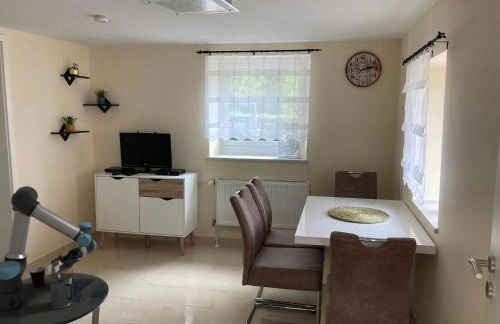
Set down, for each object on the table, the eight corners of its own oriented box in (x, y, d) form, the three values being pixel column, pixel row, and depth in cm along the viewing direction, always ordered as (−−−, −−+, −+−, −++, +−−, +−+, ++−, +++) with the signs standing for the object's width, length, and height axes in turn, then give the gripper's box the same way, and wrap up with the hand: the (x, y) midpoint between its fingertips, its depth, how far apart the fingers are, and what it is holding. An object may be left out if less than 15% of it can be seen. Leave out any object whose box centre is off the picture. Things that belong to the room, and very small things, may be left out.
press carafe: (47, 308, 228) (44, 281, 225) (59, 299, 238) (56, 273, 235) (67, 310, 225) (65, 282, 223) (79, 301, 235) (76, 274, 233)
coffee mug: (40, 288, 252) (38, 273, 251) (27, 287, 254) (26, 272, 252) (52, 280, 264) (51, 265, 262) (41, 279, 265) (39, 264, 264)
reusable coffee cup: (48, 286, 254) (45, 263, 252) (67, 279, 264) (65, 257, 262) (59, 292, 247) (57, 268, 245) (78, 284, 257) (76, 261, 255)
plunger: (51, 301, 228) (47, 263, 225) (59, 294, 235) (55, 258, 232) (62, 302, 227) (59, 264, 224) (70, 295, 234) (67, 259, 231)
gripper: (90, 260, 245) (65, 277, 222) (65, 258, 248) (38, 275, 225) (89, 248, 244) (64, 263, 221) (64, 246, 247) (36, 262, 224)
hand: (51, 269), depth 223 cm, fingers closed on plunger, 4 cm apart
